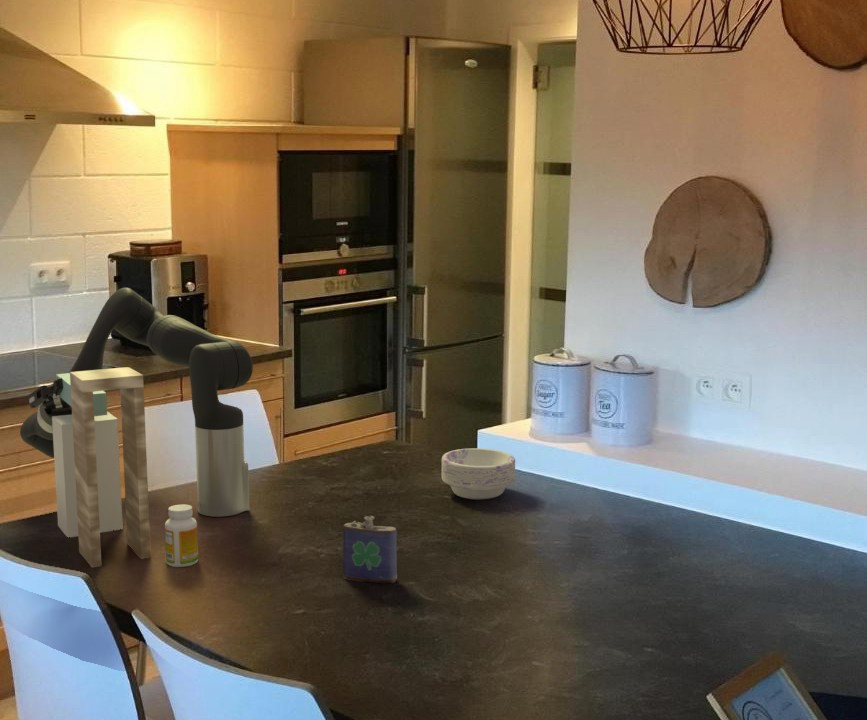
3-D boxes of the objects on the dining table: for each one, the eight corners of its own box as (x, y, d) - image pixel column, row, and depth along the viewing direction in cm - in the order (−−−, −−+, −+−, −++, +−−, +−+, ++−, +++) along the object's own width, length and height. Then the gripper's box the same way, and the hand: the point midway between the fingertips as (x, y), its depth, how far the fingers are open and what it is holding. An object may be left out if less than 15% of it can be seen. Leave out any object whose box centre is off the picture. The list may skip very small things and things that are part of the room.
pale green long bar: (78, 392, 220) (77, 372, 219) (107, 415, 201) (106, 392, 200) (57, 394, 218) (56, 374, 217) (84, 417, 199) (83, 395, 198)
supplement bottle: (202, 557, 195) (200, 503, 194) (192, 568, 190) (190, 512, 188) (172, 556, 196) (170, 502, 194) (161, 567, 190) (159, 511, 189)
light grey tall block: (111, 517, 217) (106, 410, 214) (122, 529, 210) (117, 418, 207) (58, 525, 212) (51, 416, 209) (67, 537, 205) (61, 424, 202)
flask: (398, 579, 185) (398, 515, 183) (393, 585, 182) (392, 521, 181) (345, 573, 188) (344, 511, 186) (339, 579, 185) (338, 516, 183)
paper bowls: (517, 504, 226) (517, 466, 225) (441, 504, 227) (441, 465, 225) (512, 483, 241) (513, 447, 240) (441, 483, 242) (441, 447, 240)
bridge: (136, 542, 203) (128, 367, 197) (150, 557, 195) (143, 375, 190) (79, 552, 198) (69, 372, 192) (91, 567, 190) (82, 380, 185)
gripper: (18, 396, 225) (31, 365, 211) (91, 389, 232) (108, 359, 218) (24, 432, 223) (37, 403, 209) (97, 424, 230) (114, 396, 216)
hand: (73, 381), depth 213 cm, fingers closed on pale green long bar, 4 cm apart
